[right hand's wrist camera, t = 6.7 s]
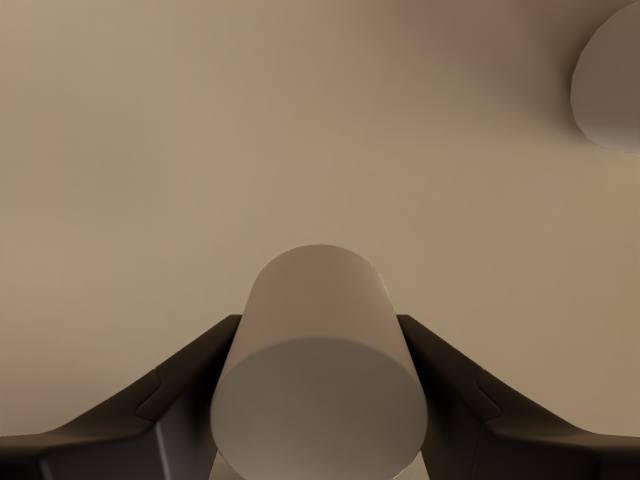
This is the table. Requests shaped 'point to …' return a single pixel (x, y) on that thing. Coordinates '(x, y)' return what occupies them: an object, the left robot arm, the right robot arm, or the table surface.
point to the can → (610, 83)
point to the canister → (319, 376)
